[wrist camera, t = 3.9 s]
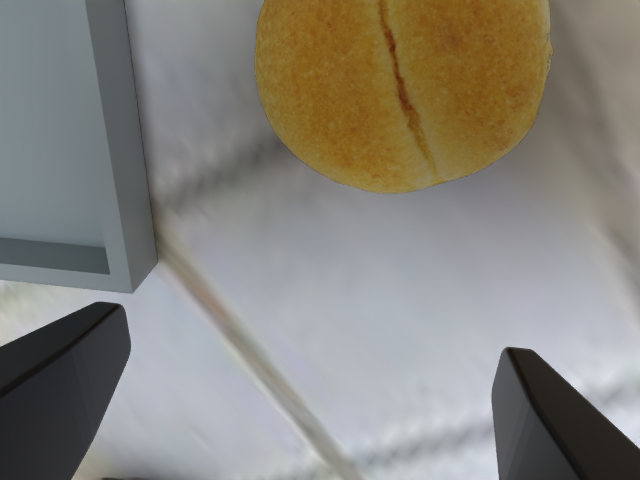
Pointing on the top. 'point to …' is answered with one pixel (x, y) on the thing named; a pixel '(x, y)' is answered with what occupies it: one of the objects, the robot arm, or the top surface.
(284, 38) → the bread roll
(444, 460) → the top surface
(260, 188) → the top surface
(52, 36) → the gray divided tray
